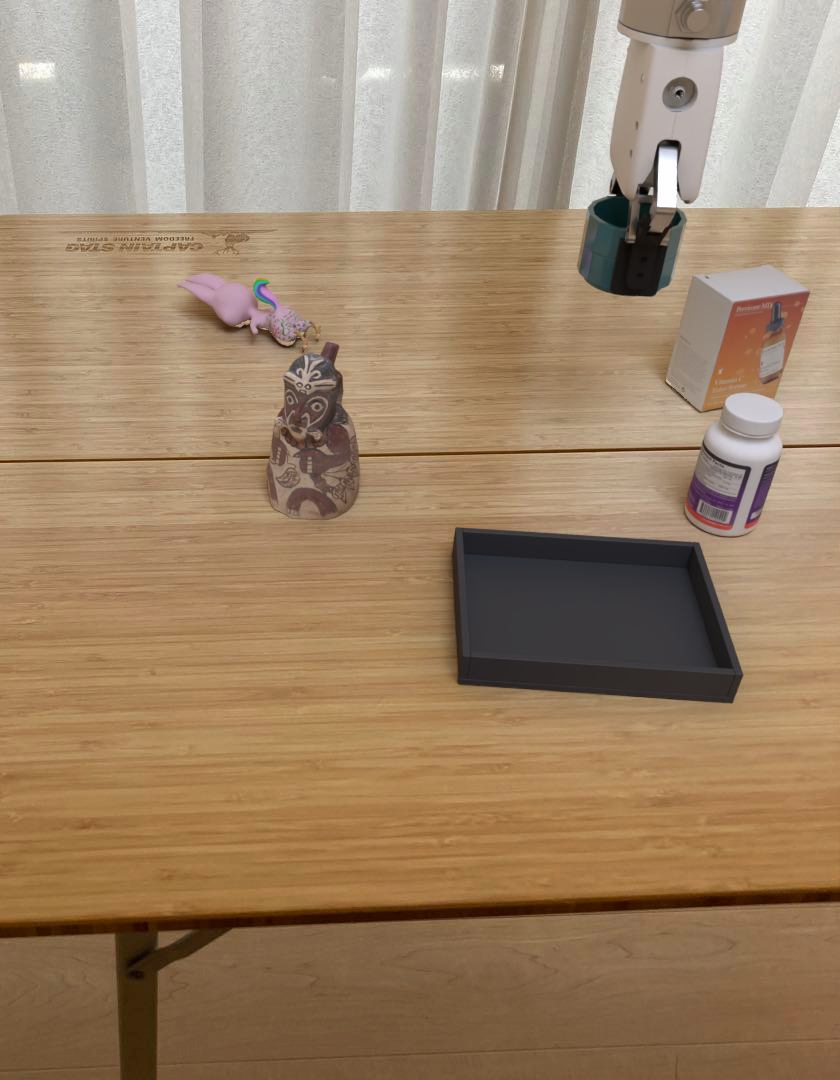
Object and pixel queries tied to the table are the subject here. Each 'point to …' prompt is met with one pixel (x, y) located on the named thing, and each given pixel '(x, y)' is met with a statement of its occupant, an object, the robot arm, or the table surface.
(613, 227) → the cup
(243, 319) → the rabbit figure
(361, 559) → the table surface
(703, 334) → the small box
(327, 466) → the figurine
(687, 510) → the pill bottle
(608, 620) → the tray
